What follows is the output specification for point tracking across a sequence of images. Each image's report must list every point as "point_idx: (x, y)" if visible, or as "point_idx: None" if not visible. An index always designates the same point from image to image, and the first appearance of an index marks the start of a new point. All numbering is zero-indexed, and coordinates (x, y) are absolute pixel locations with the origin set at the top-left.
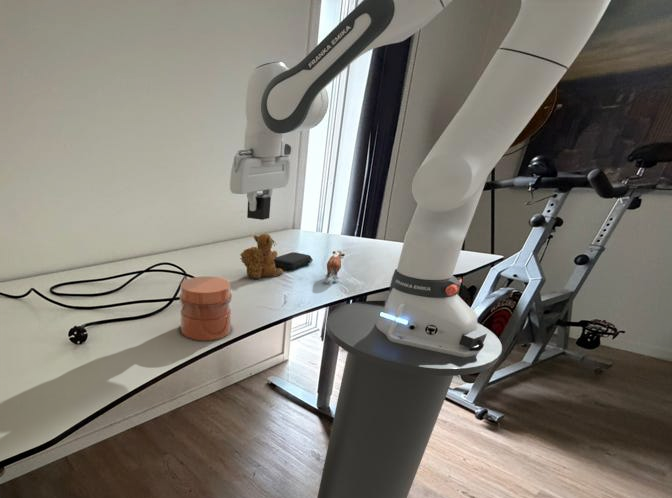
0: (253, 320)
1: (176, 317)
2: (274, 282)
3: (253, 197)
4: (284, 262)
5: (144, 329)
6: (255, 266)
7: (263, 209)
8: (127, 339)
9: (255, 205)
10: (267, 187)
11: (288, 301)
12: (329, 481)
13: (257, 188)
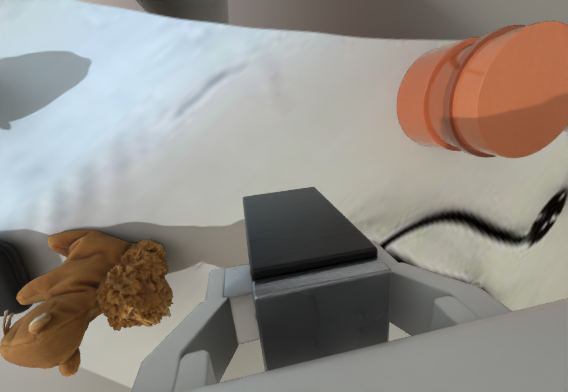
0: (351, 60)
1: (429, 178)
2: (128, 198)
3: (472, 286)
4: (3, 269)
5: (491, 172)
6: (151, 260)
7: (333, 207)
8: (527, 158)
9: (388, 255)
10: (327, 379)
11: (203, 77)
12: (222, 1)
13: (563, 328)
